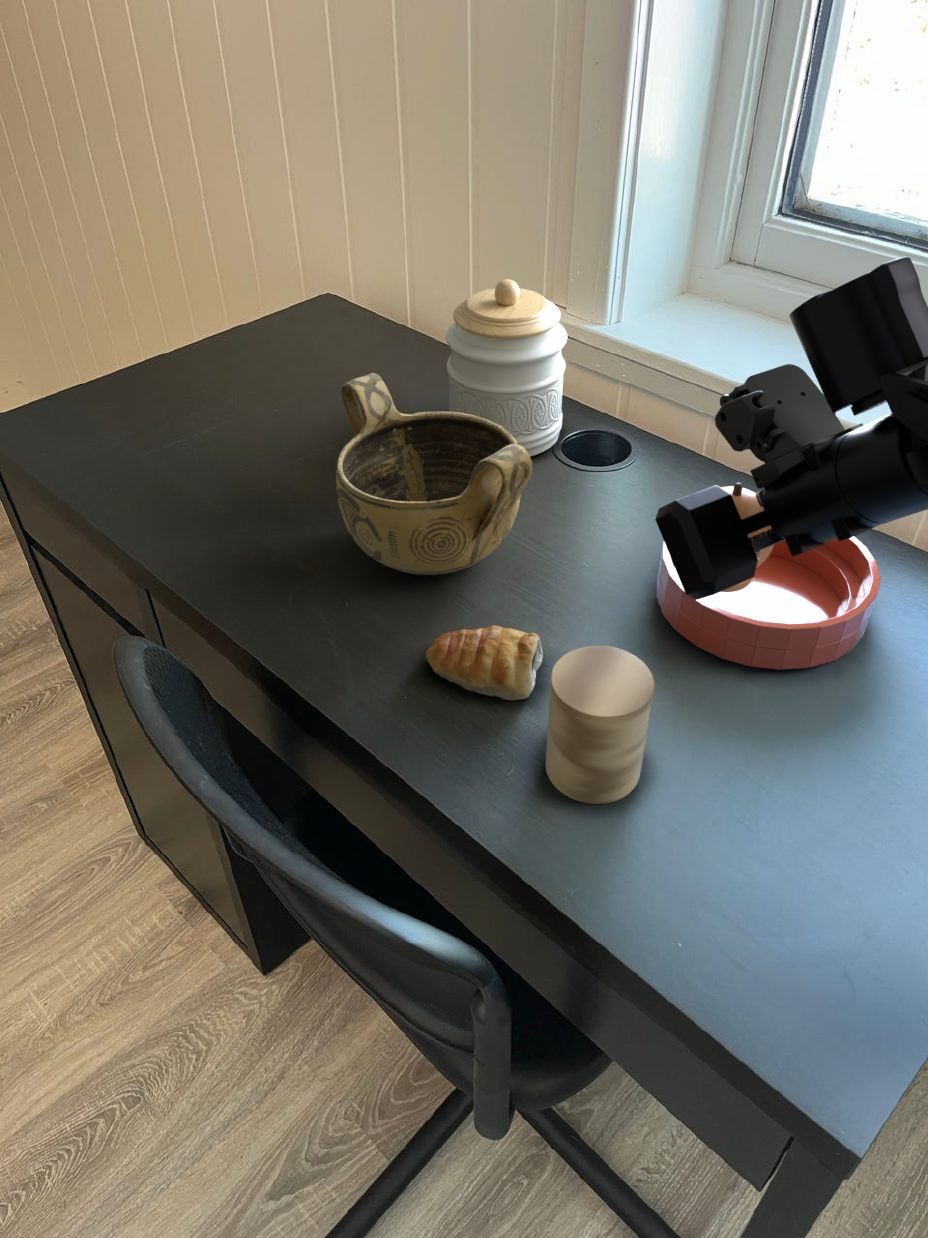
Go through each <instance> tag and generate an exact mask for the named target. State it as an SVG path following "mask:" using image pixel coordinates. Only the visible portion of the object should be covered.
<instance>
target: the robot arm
mask: <svg viewBox="0 0 928 1238" xmlns="http://www.w3.org/2000/svg"><path fill="white" fill-rule="evenodd" d="M788 317H789V319H790V321H791V323H792V326H793V329H794V331H795V333H796V335H797V338H798V339H799V343H800V344H801V346H802V348H803V351H804V353H805V356H806V358H807V360H808V362H809V365H810V367H811V369H812V372H813V374H814V376H815V378H816V381H817V383H818V386H819V387H820V388H819V387H818V386H817V384H816V383H815V382H814V381H813V379H811V377H810V376H809V374H808V373H807V372H806V371H805V370H804V369H803V368H802V367H800V366H798V365H796V364H793V363H786V364H782V365H780V366H776V367H773V368H769V369H766V370H764V371H761V372H758V373H755V374H751V375H749V376H748V377H747V378H746V380H745V381H744V383H743V384H739V385H737V386H735V387H734V388H733V390H732V391H731V392H729V393H727V394H723V395H721V397H720V398H719V405H720V407H719V409H718V411H717V412H716V414H715V416H714V424H715V428H716V429H717V430H718V431H719V433H720V434H721V435H722V436H723V439H725V440H726V442H727V443H728V445H729V446H730V447H731V449H732V450H733V451H734V452H738V453H739V452H744V451H747V450H750V452H751V453H752V455H753V456H754V457H755V458H756V459H758V460H759V461H761V462H763V464H761V465H759V466H756V467H755V468H752V469H750V473H751V476H752V479H753V481H754V483H755V486H756V488H757V489H759V490H758V491H757V492H755V493H756V498H757V501H758V503H759V505H760V506H761V507H763V508H764V511H762V512H759V513H757V514H754V515H752V516H749V517H747V518H744V519H742V520H741V517H740V515H739V513H738V510H737V508H736V505H735V503H734V500H733V498H732V496H731V494H730V493H728V492H727V491H725V490H724V489H722V488H721V486H719V485H717V484H715V485H713V486H710V487H707V488H705V489H701V490H700V491H697V492H693V493H692V494H688V495H686V496H684V497H680V498H679V499H676V500H673V501H672V502H669V503H667V504H665V505H663V506H662V507H658V510H657V513H656V516H655V522H656V525H657V527H658V530H659V532H660V534H661V537H662V540H663V542H665V544H666V547H667V549H668V552H669V554H670V557H671V559H672V562H673V564H674V566H675V569H676V571H677V574H678V576H679V579H680V581H681V584H682V586H683V588H684V591H685V593H686V595H688V596H690V597H692V598H693V599H695V600H698V599H701V598H704V597H708V596H711V595H714V594H716V593H719V592H721V591H723V590H725V589H728V588H730V587H732V586H735V585H737V584H739V583H741V582H744V581H746V580H748V579H750V578H753V577H754V576H755V571H756V567H757V562H758V560H759V552H760V551H761V550H763V549H765V548H768V547H770V546H772V545H775V544H777V543H779V542H782V541H784V540H785V541H786V543H787V546H788V548H789V550H790V553H791V555H792V557H793V556H796V555H799V554H802V553H804V552H807V551H809V550H811V549H814V548H816V547H818V546H820V545H823V544H825V543H827V542H830V541H833V540H836V539H838V541H842V540H845V539H848V538H851V537H856V536H858V535H861V534H863V533H865V532H867V531H869V530H871V529H872V530H873V529H874V528H876V527H878V526H879V527H880V526H881V525H884V524H888V523H891V522H893V521H896V520H899V519H903V518H906V517H909V516H911V515H914V514H917V513H920V512H921V513H922V512H923V511H927V510H928V304H927V302H926V300H925V298H924V295H923V292H922V287H921V281H920V278H919V275H918V273H917V270H916V268H915V265H914V263H913V261H912V258H911V257H909V256H903V257H899V258H896V259H892V260H890V261H887V262H883V263H881V264H880V265H878V266H877V267H875V268H873V269H872V270H870V271H868V272H867V273H865V274H862V275H861V276H858V277H856V278H854V279H852V280H849V281H848V282H845V283H844V284H841V285H840V286H838V287H836V288H833V289H832V290H828V291H825V292H822V293H820V294H819V293H818V294H816V295H814V296H812V297H811V298H809V299H807V300H806V301H804V302H802V304H800V305H798V306H797V307H796V308H795V309H794V310H792V312H790V313H789V315H788ZM886 403H887V405H888V408H889V410H890V413H887V414H886V415H883V416H882V417H879V418H877V419H875V420H872V421H871V422H868V423H867V424H864V423H862V422H861V423H859V424H856V425H854V426H851V427H848V428H846V429H845V427H844V425H843V424H842V423H841V421H840V419H839V418H838V417H837V414H836V413H837V412H840V411H842V410H844V409H846V408H848V407H850V410H851V412H852V415H853V416H854V417H855V416H858V415H860V414H863V413H865V412H868V411H870V410H872V409H874V408H877V407H879V406H881V405H884V404H886ZM760 489H761V490H760ZM767 526H771V528H772V529H769V530H767V531H765V532H762V533H760V534H758V535H755V536H753V537H750V538H749V537H748V534H750V533H753V532H755V531H757V530H760V529H762V528H765V527H767Z"/></svg>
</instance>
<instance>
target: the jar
mask: <svg viewBox="0 0 928 1238" xmlns="http://www.w3.org/2000/svg"><path fill="white" fill-rule="evenodd" d="M561 316H562V315H561V310H560V308H558V306H557V305H556V304H555V303H554V302H552V301H550V300H548V299H547V298H546V297H544V295H542V294H541V293H539V292H536V291H534V290H530V289H527V288H521V287H519V285H518V284H517V282H516V281H515V280H513V279H509V278H506V279H502V280H500V281H499V282H498V283H497V285H495V288H487V289H483V290H481V291H478V292H476V293H474V294H472V295H470V296H469V297H468V299H465V300H463V301H462V302H460V303H459V304H458V305H457V306H456V307H455V308H454V310H453V314H452V318H453V320H454V321H453V323H452V324H451V325H450V326H449V327H448V329H447V330H446V333H445V342H446V343H447V346H448V347H449V348H450V355H449V356H448V358H447V362H446V371H447V375H448V406H449V407H448V408H449V409H448V412H458V413H465V414H470V415H474V416H479V417H481V418H484V419H487V420H489V421H492V422H494V423H496V424H498V425H500V426H502V427H503V428H504V429H505V430H507V431H508V432H509V433H510V434H511V435H512V436H513V437H514V438H515V440H516V442H517V444H518V445H520V446H522V447H524V448H525V449H526V451H527V452H528V454H529V456H530V457H533V456H536V455H539V454H541V453H544V452H545V451H547V450H549V449H550V448H552V447H553V446H554V445H555V444H556V443H557V441H558V439H559V437H560V432H561V429H562V426H563V417H564V415H563V410H562V409H563V408H562V407H563V406H562V405H563V387H564V373H565V371H566V366H567V365H566V360H565V358H564V357H563V355H562V354H563V353H562V351H563V350H562V349H563V348H564V347H565V346H566V344H567V341H568V332H567V330H566V329H565V327H564V326H563V325H562V323H560V320H561Z"/></svg>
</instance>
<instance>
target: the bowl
mask: <svg viewBox="0 0 928 1238" xmlns="http://www.w3.org/2000/svg"><path fill="white" fill-rule="evenodd" d="M658 566H659V567H658V573H657V581H656V599H657V602H658V605H659V608H660V611H661V613H662V616H663V617H664V618H665V619H666V621H667V622H668V623H669V624H670V625H671V627H672V628H673V629H674V630H675V631H676V632H677V633H678V634H679V635H681V636H682V637H683V638H685V639H686V640H687V641H689V642H690V643H692V644H693V645H694V646H696V647H697V648H700V649H702V650H704V651H706V652H708V653H709V654H712V655H714V656H716V657H718V658H720V659H723V660H727V661H730V662H733V663H737V664H741V665H744V666H747V667H753V668H762V669H770V670H780V671H781V670H795V669H808V668H813V667H817V666H821V665H824V664H827V663H832V662H834V661H836V660H838V659H839V658H841V657H842V656H844V655H845V654H847V653H849V652H850V651H852V650H853V649H854V648H855V647H856V645H857V644H858V642H860V640H861V639H862V638H863V637H864V635H865V633H866V629H867V626H868V623H869V620H870V618H871V615H872V612H873V609H874V606H875V603H876V600H877V598H878V595H879V590H880V585H881V575H880V571H879V567H878V562H877V561H876V559H875V557H874V556H873V555H872V553H871V552H870V550H869V549H868V547H867V546H866V545H865V544H863V543H862V541H860V540H859V539H858V538H857V537H856V536H854V537H851V538H848V539H845V540H842V541H838V539H836V540H833V541H830V542H827V543H825V544H823V545H820V546H818V547H816V548H814V549H811V550H809V551H807V552H804V553H802V554H799V555H796V556H793V557H792V555H791V553H790V550H789V548H788V546H787V543H786V541H785V540H784V541H782V542H779V543H777V544H775V545H774V547H773V549H772V551H771V553H770V555H769V556H768V558H767V559H766V560H765V561H764V562H763V563H762V564H761V565H760V566H759V567H757V568H756V571H755V576H754V577H753V578H752V580H751V583H750V584H749V585H748V586H747V587H746V588H744V589H742V590H739V591H735V592H719V593H716V594H714V595H711V596H708V597H704V598H701V599H698V600H695V599H693V598H692V597H690V596H688V595H686V593H685V591H684V588H683V586H682V584H681V581H680V579H679V576H678V574H677V571H676V569H675V566H674V564H673V562H672V559H671V557H670V554H669V552H668V549H667V547H666V544H665V542H664V541H663V542H662V548H661V553H660V559H659V565H658Z"/></svg>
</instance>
